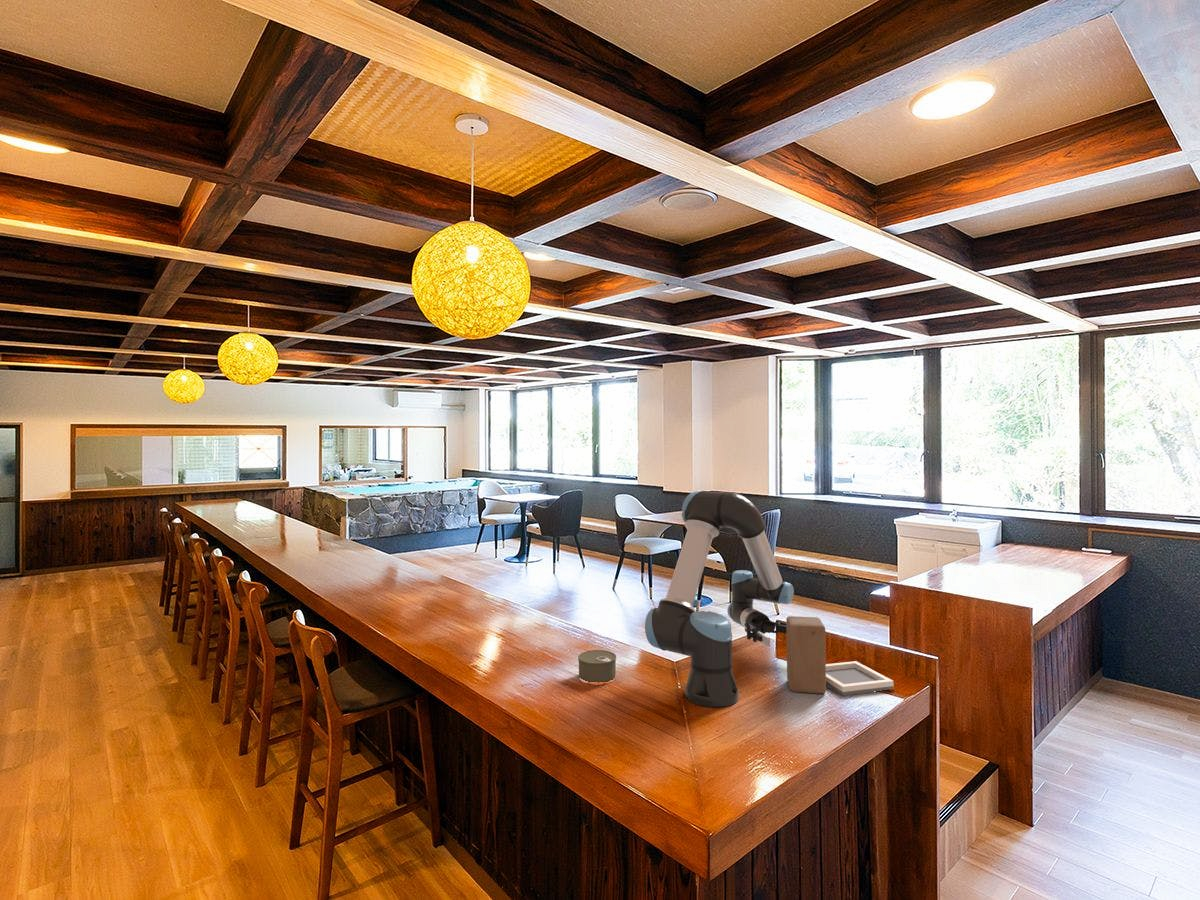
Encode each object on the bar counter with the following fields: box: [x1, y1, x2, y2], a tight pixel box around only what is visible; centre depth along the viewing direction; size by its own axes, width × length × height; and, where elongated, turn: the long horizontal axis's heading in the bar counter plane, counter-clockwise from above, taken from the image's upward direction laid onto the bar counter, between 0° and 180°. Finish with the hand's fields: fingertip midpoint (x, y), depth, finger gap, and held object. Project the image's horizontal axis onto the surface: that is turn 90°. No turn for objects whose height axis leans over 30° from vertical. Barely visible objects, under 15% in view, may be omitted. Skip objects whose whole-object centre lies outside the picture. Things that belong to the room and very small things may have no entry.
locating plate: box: [826, 660, 895, 697], centre depth 181 cm, size 17×17×3 cm
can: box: [577, 649, 617, 683], centre depth 187 cm, size 12×12×7 cm
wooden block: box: [785, 615, 827, 694], centre depth 178 cm, size 10×10×20 cm
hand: (788, 640), depth 188 cm, fingers open, 13 cm apart
